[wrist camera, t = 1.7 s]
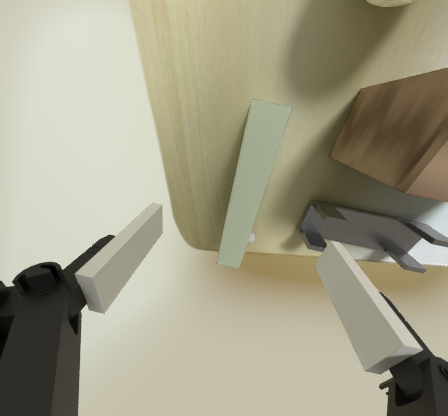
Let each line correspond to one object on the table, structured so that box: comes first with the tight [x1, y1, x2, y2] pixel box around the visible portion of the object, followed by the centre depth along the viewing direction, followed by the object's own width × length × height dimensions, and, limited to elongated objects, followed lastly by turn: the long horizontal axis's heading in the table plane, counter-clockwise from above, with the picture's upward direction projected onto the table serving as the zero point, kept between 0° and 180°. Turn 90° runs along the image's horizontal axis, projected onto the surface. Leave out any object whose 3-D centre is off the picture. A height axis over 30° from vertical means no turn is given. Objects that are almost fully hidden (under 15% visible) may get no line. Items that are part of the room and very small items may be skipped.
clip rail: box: [297, 200, 448, 273], centre depth 26 cm, size 6×19×5 cm, turn 80°
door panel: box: [217, 99, 292, 269], centre depth 21 cm, size 18×4×11 cm, turn 170°
